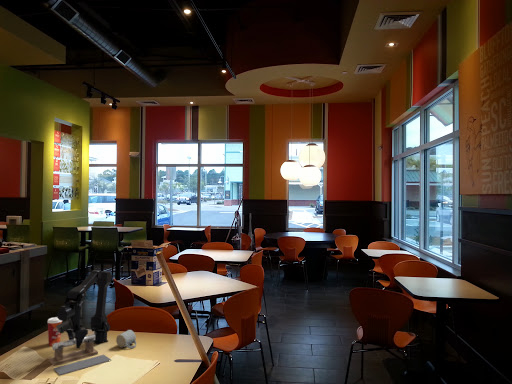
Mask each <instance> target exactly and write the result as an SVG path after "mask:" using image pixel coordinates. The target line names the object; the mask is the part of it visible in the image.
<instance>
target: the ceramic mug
mask: <svg viewBox="0 0 512 384" xmlns="http://www.w3.org/2000/svg"><path fill="white" fill-rule="evenodd" d="M115 339H116V341H115V342H116V344H117V346H118V347H119V348H121V349H122V348H128V349H135V348H136V346H137V341H136V340H137V337H136V334H135V332H134V331H133V330H132V329H127V330H126V331H124V332H122V333H120V334H118V335H117V337H116V338H115ZM133 344H134V345H133Z"/></svg>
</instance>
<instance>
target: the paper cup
mask: <svg viewBox="0 0 512 384" xmlns="http://www.w3.org/2000/svg"><path fill="white" fill-rule="evenodd" d="M61 323H63V321H61V320H59V319H58V318H57V316H55V317H50V318H48V319H47V335H48V337H47V338H48V346H49V347H52V345H53V344H54V343H58V342H61V336H62V333H59V332H58V330H57V327H56V326H57V325H59V324H61Z"/></svg>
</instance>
